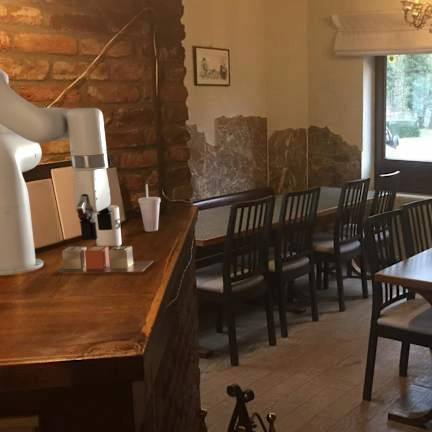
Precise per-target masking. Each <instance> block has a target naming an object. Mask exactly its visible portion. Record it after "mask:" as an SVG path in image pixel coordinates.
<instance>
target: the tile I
mask: <svg viewBox="0 0 432 432" xmlns="http://www.w3.org/2000/svg"><path fill="white" fill-rule="evenodd" d="M87 249H88V248H87V246H68V247H66V248H65V249H62V251H61V252H62V253H61V255H62V265H63V267H64V269H82V268H83V267H85V266H86V261H85V250H87Z"/></svg>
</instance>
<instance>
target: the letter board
mask: <svg viewBox="0 0 432 432" xmlns="http://www.w3.org/2000/svg"><path fill="white" fill-rule="evenodd" d="M153 262H154V260H133V264H132V265H131V266H130V267H129V268H120V269H111V266H110V264H109V265H108V266H106V267H105V268H104V269H86V266H85V267H83V268H82V269H64V266H63V267H61V268H60V269H58V270H57V271H56V273H136V272H137V273H138V272H139V273H142V272H144V271H146V269H147V268H148V267H149V266H150V265H151V264H152V263H153ZM109 263H110V260H109Z"/></svg>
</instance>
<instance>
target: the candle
mask: <svg viewBox="0 0 432 432" xmlns="http://www.w3.org/2000/svg"><path fill="white" fill-rule="evenodd" d="M110 208H111V217H112V226H113V229H112V230H99V229H98V220H97V214H99V213H98V212H97V213H95V217H94V222H96V229H97V239H96V240H95V244H96V246H95V247H98V246H108V247H115V246H121V245H122V234H121V218H120V217H121V216H120V207H119V205H116V204H111V205H110ZM109 214H110V213H109Z"/></svg>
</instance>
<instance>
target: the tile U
mask: <svg viewBox="0 0 432 432" xmlns="http://www.w3.org/2000/svg"><path fill="white" fill-rule="evenodd" d="M133 253H134V252H133V246H132V245H131V246H130V245H128V246H121V245H120V246H113V247H112V248H111V249H109V261H110V266H111V269H120V268H129V267H130V266H131V265H132V264H133V261H134V254H133Z"/></svg>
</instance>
